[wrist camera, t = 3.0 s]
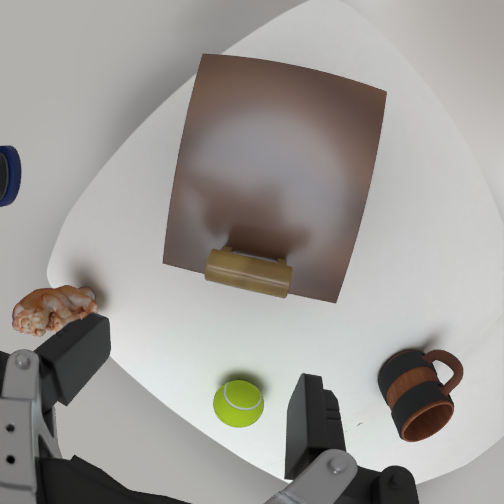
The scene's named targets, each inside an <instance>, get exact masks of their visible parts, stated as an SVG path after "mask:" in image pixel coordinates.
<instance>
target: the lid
mask: <svg viewBox="0 0 504 504" xmlns="http://www.w3.org/2000/svg"><path fill="white" fill-rule="evenodd" d="M386 95H387V92H386V91H383V90H381V89H378V88H375V87H372V86H369V85H366V84H363V83H360V82H357V81H354V80H351V79H348V78H344V77H341V76H337V75H334V74H330V73H326V72H322V71H318V70H314V69H310V68H305V67H301V66H296V65H291V64H286V63H280V62H275V61H269V60H262V59H255V58H247V57H239V56H229V55H215V54H203V55H202V58H201V61H200V65H199V69H198V72H197V76H196V80H195V83H194V87H193V91H192V95H191V99H190V103H189V108H188V112H187V116H186V121H185V125H184V130H183V135H182V139H181V144H180V149H179V154H178V160H177V165H176V171H175V176H174V182H173V188H172V194H171V201H170V208H169V215H168V222H167V229H166V237H165V246H164V255H163V264H167V265H171V266H175V267H179V268H183V269H187V270H191V271H195V272H199V273H203V274H205V279H206V280H208V281H212V282H216V283H220V284H224V285H228V286H232V287H237V288H241V289H245V290H249V291H254V292H258V293H263V294H267V295H271V296H276V297H281V298H286V296H287V294H288V293H289V294H294V295H298V296H303V297H308V298H313V299H317V300H322V301H327V302H332V303H336V302H337V299H338V296H339V293H340V290H341V287H342V284H343V281H344V278H345V274H346V271H347V268H348V265H349V262H350V258H351V255H352V252H353V248H354V245H355V241H356V238H357V234H358V231H359V227H360V223H361V219H362V216H363V212H364V208H365V204H366V200H367V196H368V191H369V187H370V183H371V178H372V174H373V169H374V164H375V160H376V155H377V150H378V144H379V139H380V133H381V128H382V122H383V115H384V109H385V102H386Z"/></svg>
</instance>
